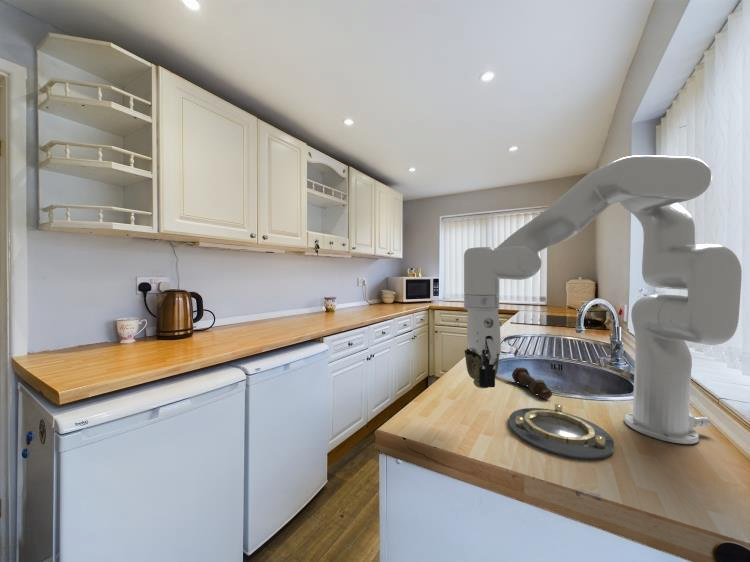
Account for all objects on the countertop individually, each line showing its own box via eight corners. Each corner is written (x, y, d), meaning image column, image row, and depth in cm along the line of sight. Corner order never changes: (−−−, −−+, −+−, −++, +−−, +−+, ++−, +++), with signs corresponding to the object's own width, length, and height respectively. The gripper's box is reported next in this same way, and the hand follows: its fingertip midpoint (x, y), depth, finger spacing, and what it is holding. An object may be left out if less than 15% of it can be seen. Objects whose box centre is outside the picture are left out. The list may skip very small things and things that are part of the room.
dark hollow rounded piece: (502, 393, 64) (502, 356, 64) (466, 391, 66) (466, 355, 65) (495, 381, 72) (495, 347, 71) (463, 379, 73) (463, 346, 73)
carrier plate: (574, 413, 78) (575, 401, 78) (640, 462, 58) (640, 445, 58) (496, 411, 79) (496, 399, 79) (534, 458, 59) (534, 442, 59)
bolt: (544, 407, 86) (516, 385, 101) (559, 398, 86) (529, 378, 101) (535, 390, 86) (509, 371, 101) (550, 381, 86) (522, 363, 101)
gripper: (514, 306, 60) (514, 396, 60) (485, 298, 77) (485, 368, 77) (476, 306, 60) (476, 396, 60) (455, 299, 77) (456, 368, 78)
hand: (481, 380), depth 69 cm, fingers closed on dark hollow rounded piece, 6 cm apart
